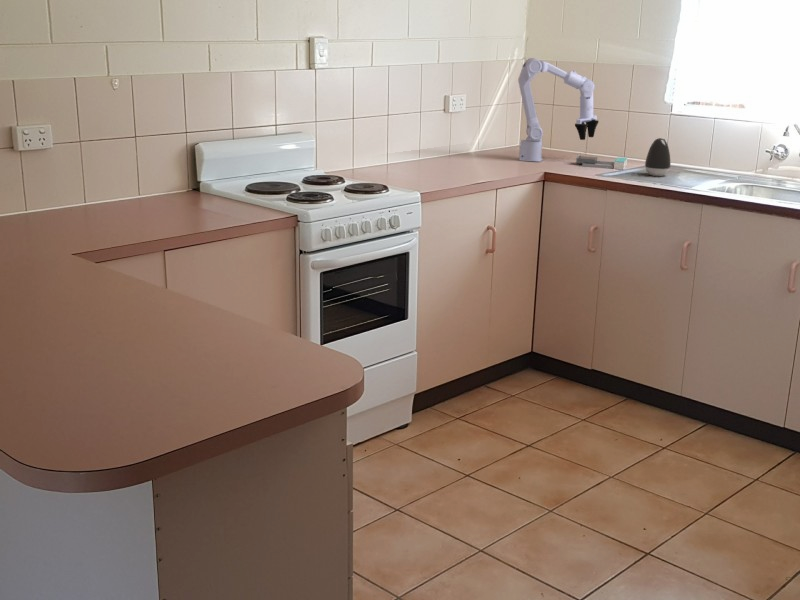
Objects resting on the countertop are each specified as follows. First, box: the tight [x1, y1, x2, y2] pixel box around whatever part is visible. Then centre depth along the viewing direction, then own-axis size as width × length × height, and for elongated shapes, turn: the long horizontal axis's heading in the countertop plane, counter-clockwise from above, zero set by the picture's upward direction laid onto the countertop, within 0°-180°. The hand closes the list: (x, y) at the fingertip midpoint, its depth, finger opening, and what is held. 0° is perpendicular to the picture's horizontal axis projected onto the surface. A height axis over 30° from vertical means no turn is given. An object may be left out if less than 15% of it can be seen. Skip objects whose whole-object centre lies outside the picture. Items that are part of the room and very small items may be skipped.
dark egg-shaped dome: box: [644, 137, 672, 177], centre depth 383 cm, size 10×10×15 cm
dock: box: [581, 157, 628, 170], centre depth 404 cm, size 18×12×3 cm
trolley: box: [575, 152, 598, 166], centre depth 406 cm, size 8×7×4 cm
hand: (586, 138), depth 413 cm, fingers open, 7 cm apart
